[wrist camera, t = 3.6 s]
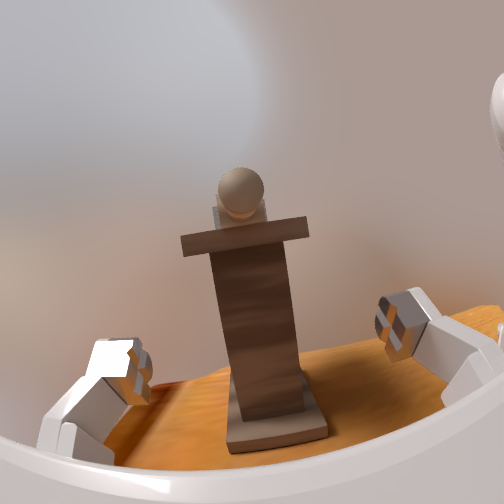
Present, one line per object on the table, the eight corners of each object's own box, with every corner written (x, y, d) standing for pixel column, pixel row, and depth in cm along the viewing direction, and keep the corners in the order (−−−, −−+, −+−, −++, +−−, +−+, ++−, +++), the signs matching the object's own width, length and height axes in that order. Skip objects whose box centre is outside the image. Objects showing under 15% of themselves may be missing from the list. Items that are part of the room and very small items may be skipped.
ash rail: (281, 211, 16) (272, 158, 15) (208, 222, 15) (201, 169, 15) (256, 227, 41) (252, 207, 41) (228, 232, 41) (225, 211, 41)
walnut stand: (327, 436, 28) (306, 216, 27) (229, 453, 28) (180, 235, 26) (298, 370, 48) (278, 225, 47) (232, 380, 48) (205, 236, 46)
